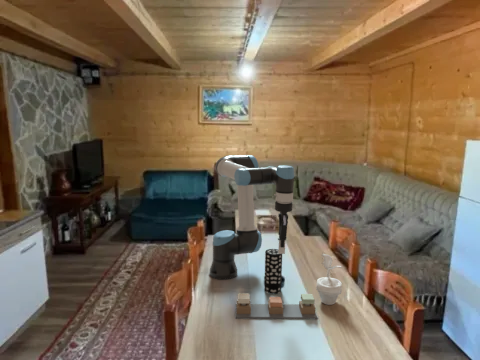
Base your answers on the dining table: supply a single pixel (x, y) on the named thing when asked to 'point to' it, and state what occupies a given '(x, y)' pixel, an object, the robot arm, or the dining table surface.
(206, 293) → the dining table surface
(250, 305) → the button board
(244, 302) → the button cream
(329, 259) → the potted plant
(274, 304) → the orange cube
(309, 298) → the button sage
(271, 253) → the spotted tube
